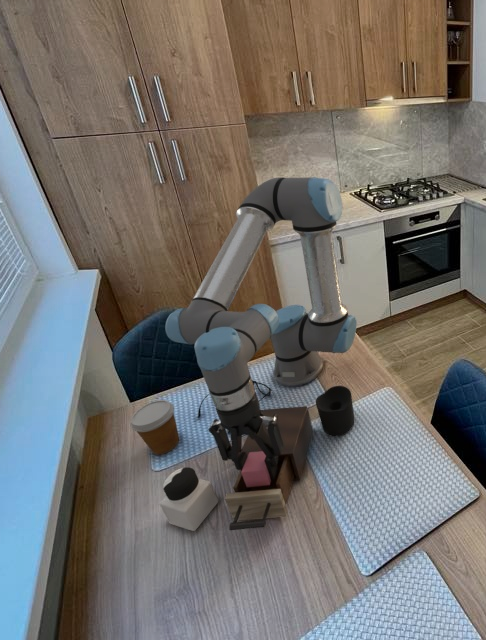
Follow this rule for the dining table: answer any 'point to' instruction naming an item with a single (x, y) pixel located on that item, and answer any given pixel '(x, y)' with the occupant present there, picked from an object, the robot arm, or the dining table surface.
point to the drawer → (261, 498)
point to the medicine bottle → (187, 499)
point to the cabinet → (289, 435)
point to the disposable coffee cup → (156, 426)
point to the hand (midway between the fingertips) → (261, 475)
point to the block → (255, 470)
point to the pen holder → (336, 410)
